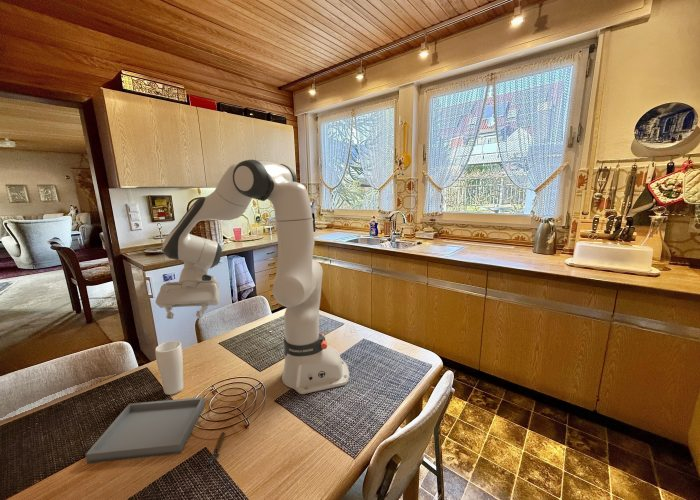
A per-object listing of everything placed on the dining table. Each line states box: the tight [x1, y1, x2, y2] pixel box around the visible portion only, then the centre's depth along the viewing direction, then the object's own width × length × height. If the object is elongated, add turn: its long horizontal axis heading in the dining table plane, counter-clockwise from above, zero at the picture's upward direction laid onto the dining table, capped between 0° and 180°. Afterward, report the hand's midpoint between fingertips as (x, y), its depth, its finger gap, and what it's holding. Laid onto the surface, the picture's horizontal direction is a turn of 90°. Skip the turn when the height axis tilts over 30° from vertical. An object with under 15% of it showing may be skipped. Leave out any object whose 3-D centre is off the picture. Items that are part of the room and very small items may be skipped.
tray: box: [84, 396, 206, 465], centre depth 74 cm, size 20×16×2 cm
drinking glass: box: [154, 340, 185, 396], centre depth 88 cm, size 7×7×15 cm
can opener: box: [208, 431, 226, 466], centre depth 68 cm, size 9×2×1 cm, turn 179°
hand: (184, 317), depth 97 cm, fingers open, 8 cm apart
